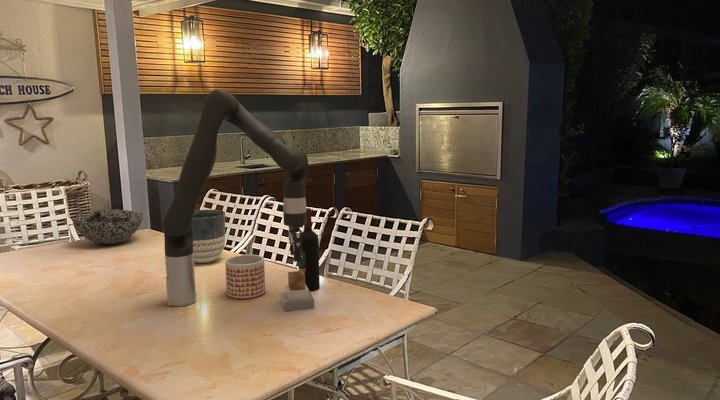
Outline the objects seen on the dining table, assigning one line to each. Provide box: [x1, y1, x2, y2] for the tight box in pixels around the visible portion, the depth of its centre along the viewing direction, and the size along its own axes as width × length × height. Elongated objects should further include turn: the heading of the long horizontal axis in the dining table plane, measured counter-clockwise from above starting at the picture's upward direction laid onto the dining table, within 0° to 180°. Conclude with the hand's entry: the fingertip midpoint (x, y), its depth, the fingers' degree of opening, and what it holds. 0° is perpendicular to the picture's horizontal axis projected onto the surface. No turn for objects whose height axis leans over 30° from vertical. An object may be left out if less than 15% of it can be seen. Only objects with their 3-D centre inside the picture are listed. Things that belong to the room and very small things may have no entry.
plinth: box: [280, 284, 315, 312], centre depth 185 cm, size 10×10×6 cm
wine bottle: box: [297, 207, 320, 292], centre depth 200 cm, size 8×8×30 cm
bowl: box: [72, 208, 144, 246], centre depth 273 cm, size 31×31×15 cm
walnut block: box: [287, 270, 305, 291], centre depth 184 cm, size 5×5×5 cm
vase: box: [224, 254, 266, 300], centre depth 197 cm, size 14×14×13 cm
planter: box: [192, 209, 226, 264], centre depth 238 cm, size 20×20×21 cm
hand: (295, 258), depth 183 cm, fingers open, 8 cm apart
